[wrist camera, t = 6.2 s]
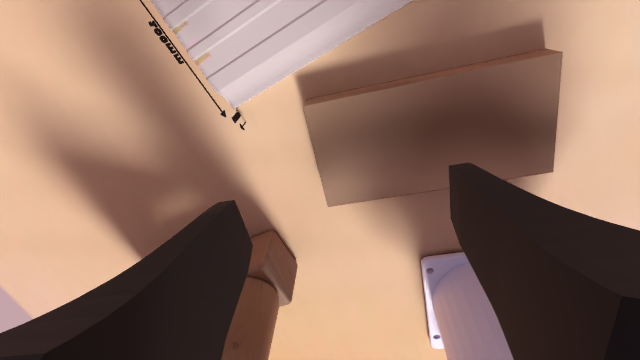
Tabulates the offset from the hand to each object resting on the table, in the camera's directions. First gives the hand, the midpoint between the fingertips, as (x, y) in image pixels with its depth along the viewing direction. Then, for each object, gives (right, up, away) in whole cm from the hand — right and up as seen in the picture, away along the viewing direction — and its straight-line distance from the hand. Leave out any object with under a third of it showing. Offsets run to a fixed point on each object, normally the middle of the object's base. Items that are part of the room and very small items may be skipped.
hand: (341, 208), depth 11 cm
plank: (+5, +4, +7) cm, 10 cm away
